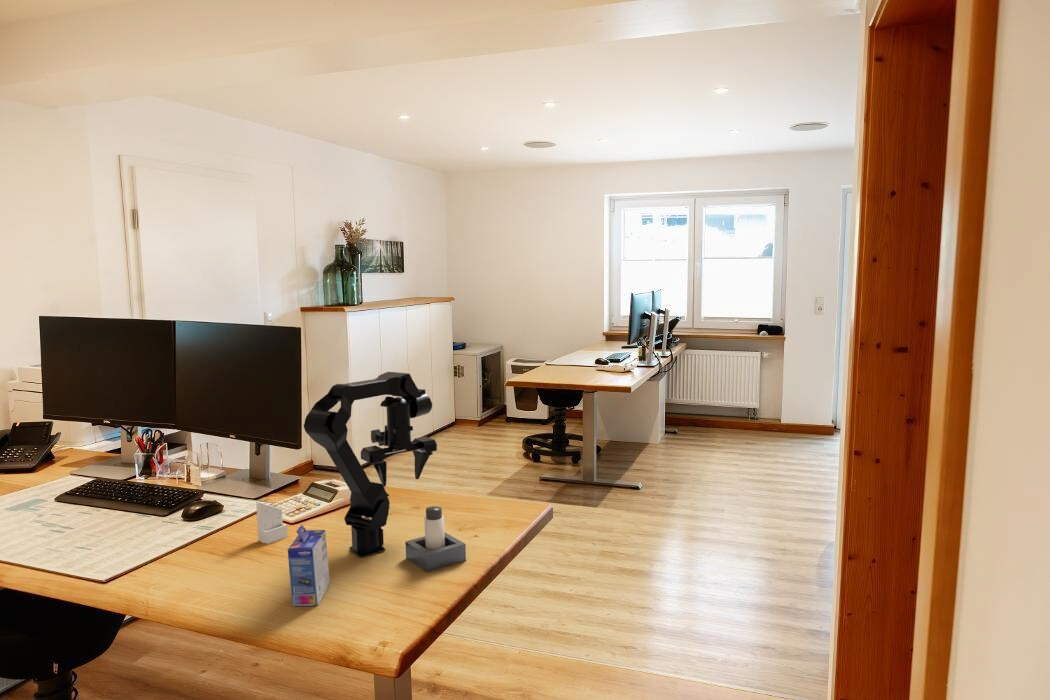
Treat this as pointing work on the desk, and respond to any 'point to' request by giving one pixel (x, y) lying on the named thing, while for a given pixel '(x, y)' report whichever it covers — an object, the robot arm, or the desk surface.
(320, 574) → the ink cartridge box
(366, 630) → the desk surface
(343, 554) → the desk surface
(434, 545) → the white bottle
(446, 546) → the collar
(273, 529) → the white wall holder
